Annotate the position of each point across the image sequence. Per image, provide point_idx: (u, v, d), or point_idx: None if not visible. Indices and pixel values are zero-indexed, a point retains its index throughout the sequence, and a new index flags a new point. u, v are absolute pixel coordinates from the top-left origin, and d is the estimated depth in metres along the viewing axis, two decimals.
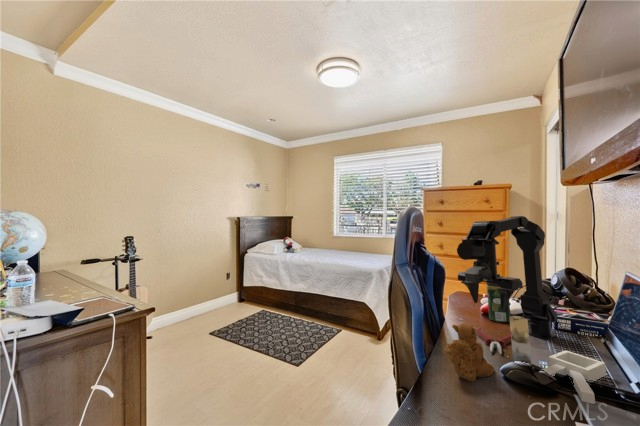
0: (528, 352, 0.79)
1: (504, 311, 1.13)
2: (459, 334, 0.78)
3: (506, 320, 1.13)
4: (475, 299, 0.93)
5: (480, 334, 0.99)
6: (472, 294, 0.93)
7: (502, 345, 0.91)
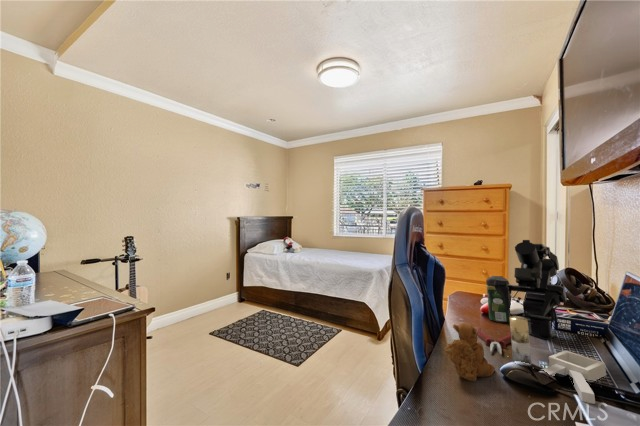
0: (528, 352, 0.79)
1: (504, 311, 1.13)
2: (460, 334, 0.78)
3: (506, 320, 1.13)
4: (508, 305, 0.90)
5: (480, 334, 0.99)
6: (507, 300, 0.91)
7: (502, 345, 0.91)
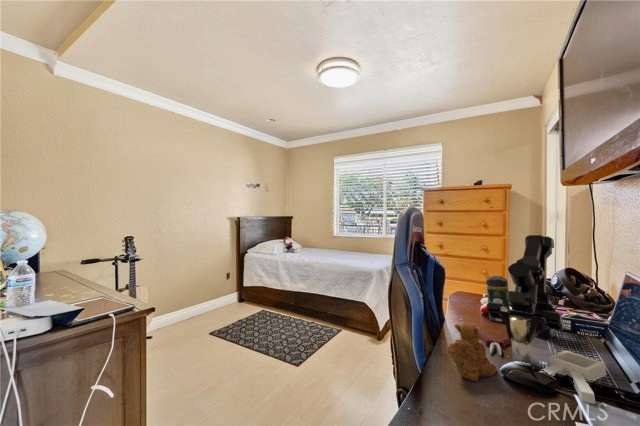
0: (528, 352, 0.79)
1: None
2: (462, 334, 0.78)
3: None
4: (510, 334, 0.82)
5: (480, 335, 0.98)
6: (508, 327, 0.83)
7: (502, 346, 0.90)
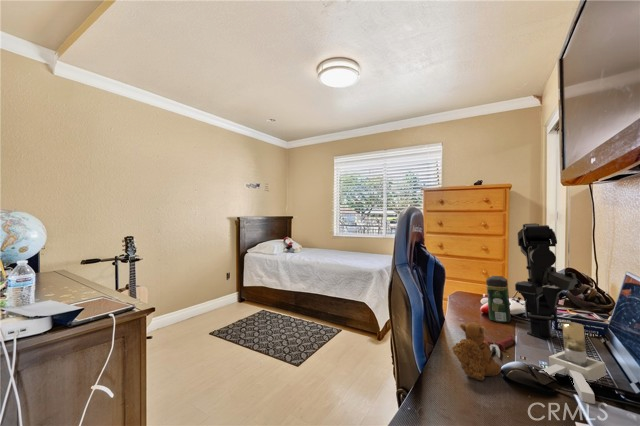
0: (586, 360, 0.73)
1: (504, 311, 1.13)
2: (467, 333, 0.78)
3: (506, 320, 1.13)
4: None
5: None
6: (537, 305, 0.85)
7: (501, 348, 0.89)
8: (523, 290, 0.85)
